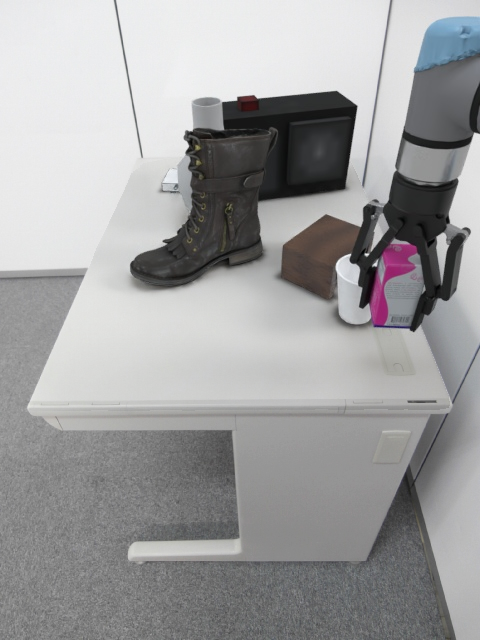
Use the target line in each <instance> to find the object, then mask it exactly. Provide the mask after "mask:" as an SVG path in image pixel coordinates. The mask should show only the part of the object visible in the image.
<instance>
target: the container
mask: <svg viewBox="0 0 480 640" xmlns="http://www.w3.org/2000/svg"><path fill="white" fill-rule="evenodd" d="M161 190H162V192H169V193H170V194H176V193H177V192H179V190H178V172H177V168H169V169H168V170H167V172H166V174H165V176H164V177H163V179H162V182H161ZM179 193H180V192H179Z"/></svg>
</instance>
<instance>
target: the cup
mask: <svg viewBox="0 0 480 640" xmlns="http://www.w3.org/2000/svg"><path fill="white" fill-rule="evenodd" d="M368 255H369V254H366V253H365V256H366V257H367V256H368ZM350 256H351V254H348V255H346V256H343V257H342V258H340V259H339V260H338V262H337V263H336V271H337V283H336V284H337V301H338V302H337V303H338V304H337V305H338V307H337V308H338V315H339V317H340V318H341V319H342V320H343V321H345V322H346V323H347V324H350V325H364V324H366V323H368V322H369V321H370V320H372V317H371V312H370V306H369V303H368V304H367V305H366V306H365V307H364V308H363V309H362V308H359V303H360V298H361V293H362V287H359V286H358V279H359V274H360V268H359V266H358V265H356V264H352V263H350V260H349V259H350ZM377 263H378V260H377V261H376V262H375V263H374V264H373V266H376V267H377ZM373 266H372V267H373Z"/></svg>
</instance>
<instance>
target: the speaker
mask: <svg viewBox="0 0 480 640" xmlns="http://www.w3.org/2000/svg"><path fill="white" fill-rule="evenodd" d="M358 107H359V106H358V104H356V103H354V102H353V101H352V100H351V99H349V98H348V97H346V96H345V95H344V94H343V93H341V92H340V91H338V90H331V91H319V92H310V93H309V92H308V93H299V94H290V95H280V96H270V97H269V96H268V97H259V98H257V96H256V95H255V94H250V95H241V96H240V95H239V96H237V97H236V100H229V101H228V100H227V101H222V111H223V126H224V130H228V129H247V128H249V129H253V128H254V129H255V128H256V129H261V130H263V129H264V130H267V131H269V128H271V127H273V128H275V129H276V130H277V131H278V135H277V140H276V143H275V145H274V147H273V149H272V150H271V152H270V153H269V155H268V157H267V161H266V164H265V170H266V174H265V178H264V181H263V183H262V184H261V185H260V188H259V192H258V202H260V201H265V200H266V201H267V200H273V199H274V200H275V199H280V198H288V197H296V196H303V195H310V194H311V195H312V194H317V193H325V192H332V191H339V190H345V189H346V187H347V179H348V173H349V166H350V159H351V152H352V147H353V140H354V132H355V127H356V120H357V114H358Z"/></svg>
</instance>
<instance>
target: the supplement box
mask: <svg viewBox="0 0 480 640" xmlns="http://www.w3.org/2000/svg"><path fill="white" fill-rule="evenodd" d="M424 289H425V284H424V278H423V272H422V266H421V260H420V255H418V253H417V248H416V246H413V245H411V244H409V243H391V244H390V245H389V246H388V247H387V248H386V249H384V250H383V252H382V253H381V255H380V256H379V258H378V263H377V267H376V273H375V277H374V282H373V287H372V292H371V297H370V301H369V306H370V312H371V322H372V323H371V324H372V327H373V328H376V329H377V328H378V329H379V328H382V329H402V330H403V329H404V330H405V329H406V330H410V327H411V323H412V320H413V317H414V314H415V311H416V307H417V304H418V301H419V298H420V296H421V295H422V293H423V292H424V291H423V290H424Z"/></svg>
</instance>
